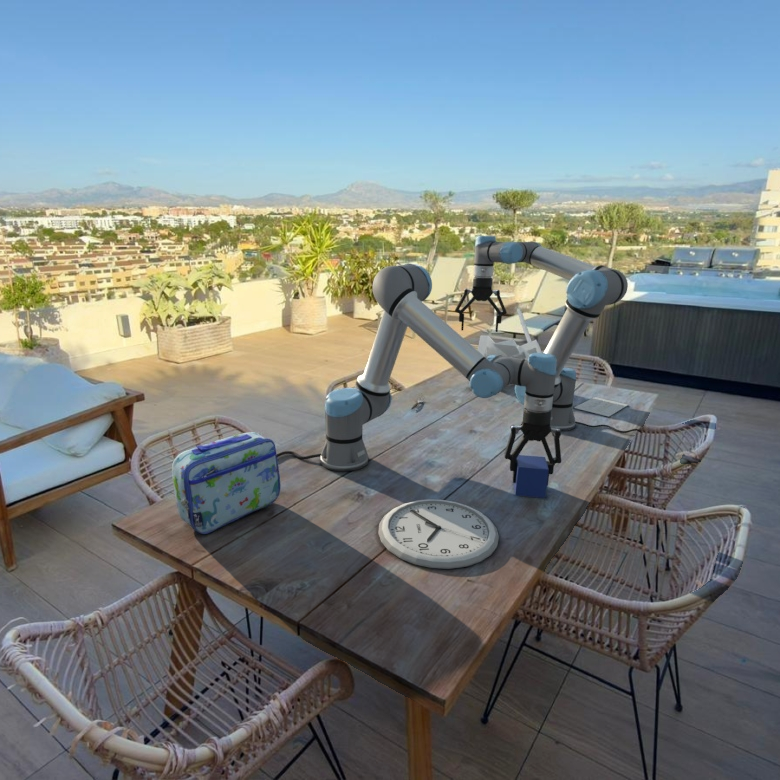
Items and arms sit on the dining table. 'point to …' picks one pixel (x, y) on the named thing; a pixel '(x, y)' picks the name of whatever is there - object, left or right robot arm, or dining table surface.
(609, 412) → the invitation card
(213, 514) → the lunch box
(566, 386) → the right robot arm
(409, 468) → the dining table surface
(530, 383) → the left robot arm
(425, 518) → the wall clock
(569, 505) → the dining table surface
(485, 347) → the white plastic object
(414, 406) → the fork
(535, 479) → the block
